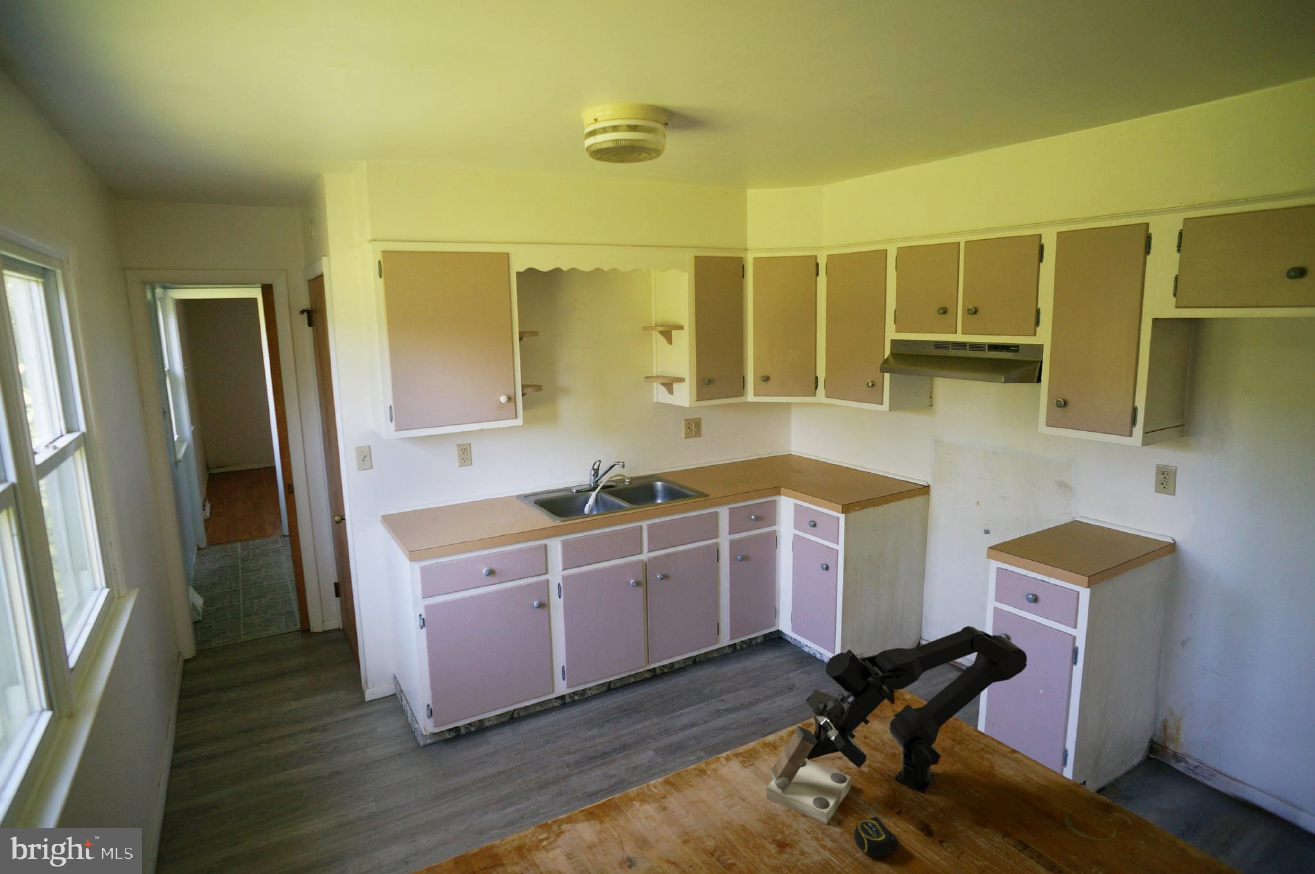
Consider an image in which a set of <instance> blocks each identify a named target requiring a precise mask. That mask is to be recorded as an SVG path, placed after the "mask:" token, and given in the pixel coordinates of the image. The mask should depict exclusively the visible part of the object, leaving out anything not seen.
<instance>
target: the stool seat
mask: <svg viewBox="0 0 1315 874" xmlns="http://www.w3.org/2000/svg"><path fill="white" fill-rule="evenodd" d="M765 788H766V799H767V800H770V801H772V802H774V803H777V804H779V805H781V806H782V807H786V808H788V809H790V810H792V811H794V812H797V813H799V814H801V815H804V816H806V817H808V818H810V819H812V820H815V821H817V822H819V823H821V824H823V825H827V824H828V823H829V821H830V820H831V819H832V817H833V815H834V813H836V811H837V809H838V807H839V806H840V805H841V803H842V802H843V800H844V798H845V797H846V796H847V794H848V793H849V792H850V790H851V788H852V776H851V775H847V774H845V773H842V772H840V771H838V770H835V769H832V768H830V767H827V766H826V765H822V764H820V763H818V762H817V763H816V762H814V761H813V760H808V759H807V758H806V759H805V761H804V762H803V764H802V766H801V767H800V769H799V771H798V772H797V774H796V775H795V777H794V779H793V780H792V782H791V783H790V785H789V786H788V787H787V788H786V789H783V790H781V789H778V788H777V786H776V784H775V782H774V780H773V779H772V780H771V781H770V782H769V784H768V785H767V786H766V787H765Z"/></svg>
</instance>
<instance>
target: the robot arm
mask: <svg viewBox="0 0 1315 874" xmlns="http://www.w3.org/2000/svg"><path fill="white" fill-rule="evenodd" d="M975 653H976V656H975V659H974V662H973V663H972V664H971V665H970V666H969V667H968V668H967V669H965V670H964V671H963V672H962V673H960V674H959V676H957V677H956V678H955V679H953V681H951V682H950V683H949V684H947V685H946V686H945V687H944V688H943V689H942V690H941V691H939V692H938V693H936V695H935V696H933V697H932V698H931V699H930V700H929V701H928V702H926V703H925V704H923V705H922V706H920V707H914V708H913V707H912V706H911V704H910V703H909V704H906V705H904V707H903V708H902V709H901V710H900V711H899V712H897V713H894V714H893V718H892V720H891V721H890V723H889V734H890V735H891V737H892V738H893V739H894V740H895V742H896V743H897V744H898V746H899V747H900V748H901V749H902V752H901V753H902V754H901V768H900V770H899V772H897V774H896V775H895V776H894V780H895V781H897V782H899V783H901V784H903V785H906V786H908V787H910V788H912V789H914V790H917V791H918V792H921V793H926V792H927V791H928V789H929V788H930V786H932V784H933V783H934V782H935V780H936V778H937V776H936V774H934V773H931V767H932V766H935V765H938V764H939V761H940V759H941V756H942V755H941V754H940V753H939V751H938V750H937V749H936V748H935V747H934V744H935V743H936V741H937V737H938V734H939V732H940V728H941V727H942V726H943V725H944V724H946V723H947V722H948V721H949V720H950V719H951V718H953V717H954V716H955V715H956V714H958V713H959V712H960V711H961V710H962V709H964V707H966V706H967V705H968V704H969V703H970V702H971V701H973V700H974V699H975V698H976V697H978V696H979V695H980V694H981V693H982V692H984V690H986V689H987V688H988V687H990V685H993V684H995V683H999V682H1005V681H1009V680H1011V679H1013V678H1014V677H1016V676H1017V675H1019V674H1021V673H1022V672H1023V671H1024V670H1025V669H1026V668H1027V666H1028V664H1027V661H1028V657H1027V656H1028V655H1027V653H1026V652H1025V651H1024V649H1022V648H1021V647H1019V646H1017V645H1016V644H1015V643H1014V642H1012V640H1009V639H1008V638H1007V637H1005V636H1003V635H1000V634H999V635H997V634H994V635H991V634H990V633H988V632H986V631H983V630H981V629H977V628H976V627H974V626H970V625H967V626H965V627H963V628H961V629H960V630H959V631H957V632H953V633H950V634H948V635H946V636H942V637H939V638H937V639H935V640H934V639H933V640H932V641H929V642H926V643H924V644H921V645H919V646H916V647H912V648H904V647H903V648H902V647H895V648H890V649H886V650H882V651H880V652H878V653H877V654H873V655H869V656H865V657H861V658H860V657H858V656H857V654H856V653H854V652H853V651H852V650H851V649H847V650H846V652H839V653H836V654H835V655H832V656H831V657H830V659H829V660H828V661H827V662H826V665H825V672H826V675H828V676H829V678H830V679H832V680H833V682H835V683H836V684H837V685H838V686H839V687H841V689H843V690H844V691H845V693H847V694H844V693H843V692H840V693H838V694H837V695H836V696H833V695H831V694H829V693H827V692H823V691H821V690H818V689H813V691H812V693H811V694H810V695H809V696H808V697H807V698H806V699H805V701H806V702H807V705H808V706H809V707H810V708H811V709H812V712H813V714H815V715H814V716H813V720H814V724H815V725H814V729H815V730H814V732H813V735H814V737H815V739H816V740H817V743H816V744H815V746H813V748H812V750H811V751H810V753H809V754H808V756H807V758H806V759H807V760H810V761H812V760H813V759H816V758H820V757H822V756H826V755H830V754H835V753H839V752H840V753H841V754H842V755H843V756H844V757H845V758H846V759H847V760H849V761H850V762H851V763H853V765H855V767H857V768H858V769H860V768H861V767H862V766H863V765H864V764H865V763H866V762H867V755H866V753H865V752H864V750H863V749H862V747H861V746H860V745H859V744H858V743H857V742H856V741H855V740H854V738H856V734H855V733H854V732H855V731H856V730H857V729H858V728H859V726H861V725H862V724H863V723H864V724H865V726H868V724H869V723H870V722H871V721H870V720H869V718H868V717H869V716H870V715H871V714H872V713H873V712H874V711H875V710H876V709H877V708H878V707H879V706H880V705H881V704H882V703H883V702H884V701H885V700H887V701H888V702H889V703H890V704H891V705H894V704H895V703H896V699H895V692H896V691H899V690H904V689H905V688H907V687H909V686H910V685H913V684H914V683H916V682H917V681H918V680H919V678H921V676H922V675H923V674H924V673H925V672H928V671H930V670H933V669H935V668H938V667H941V666H943V665H946V664H948V663H949V664H950V663H951V662H955V661H956V660H959V659H962V658H965V657H967V656H970V655H973V654H975ZM816 716H818V717H816Z"/></svg>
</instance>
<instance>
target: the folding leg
mask: <svg viewBox="0 0 1315 874" xmlns="http://www.w3.org/2000/svg"><path fill="white" fill-rule="evenodd" d="M816 743H817V740H816V739H815V737H814V733H813V731H810V730H808V729H806V728H804V727H802V726H800V725H797V726H796V728H795V730H794V732H793V734H792V735H791V737H790V739H789V741H788V742H787V744H786V745H785V747H784V748H783V750H782V752H781V753H780V754H779V757H778V758H777V760H776V762H775V763H774V765H773V766H772V768H771V771H770V776H771V778H772V780H774V782H775V784H776V786H777V788H778V789H781V790H783V789H786V788H787V787H788V786H789V785H790V783H791V782H792V780H793V779H794V777H795V775H796V774H797V772H798V771H799V769H800V767H801V766H802V764H803V762H804V761H805V759H807V756H808V754H809V753H810V751H811V750H812V748H813V746H815V744H816Z"/></svg>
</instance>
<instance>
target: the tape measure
mask: <svg viewBox="0 0 1315 874" xmlns="http://www.w3.org/2000/svg"><path fill="white" fill-rule="evenodd" d="M853 833H854V841H855V844H856V846H857V847H858V848H859V850H861V851H862V852H863V853H865V854H866V855H868V856H870V857H873V858H874V857H876V858H877V857H878V858H882V857H886V856H887V855H889V854H890V853H894V852H895V851H897V850H898V849H899V845H900V844H899V842H900V841H899V839H898V838H897V837H896V836H895V835H894V834H893V833H892V831H890V830H889V829H888V828H887V827H886V825H885V824H884V823H883V822H882V821H881V820H880V818H879V817H878V816H872V817H871V818H865V819H864V818H863V819H862V820H860V821H859V822H858V823H856V826H855V829H854V832H853Z"/></svg>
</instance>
